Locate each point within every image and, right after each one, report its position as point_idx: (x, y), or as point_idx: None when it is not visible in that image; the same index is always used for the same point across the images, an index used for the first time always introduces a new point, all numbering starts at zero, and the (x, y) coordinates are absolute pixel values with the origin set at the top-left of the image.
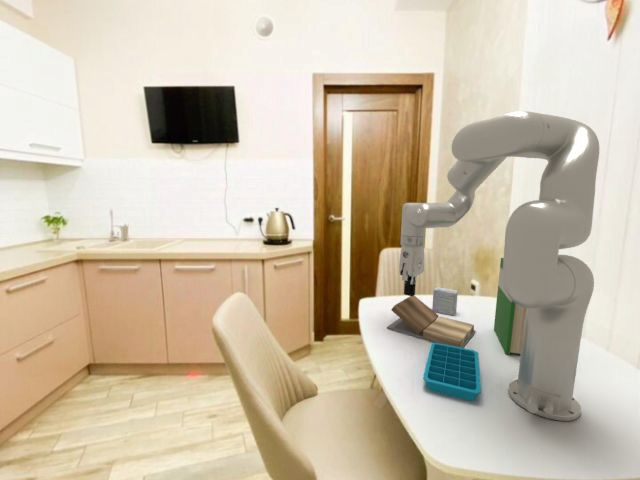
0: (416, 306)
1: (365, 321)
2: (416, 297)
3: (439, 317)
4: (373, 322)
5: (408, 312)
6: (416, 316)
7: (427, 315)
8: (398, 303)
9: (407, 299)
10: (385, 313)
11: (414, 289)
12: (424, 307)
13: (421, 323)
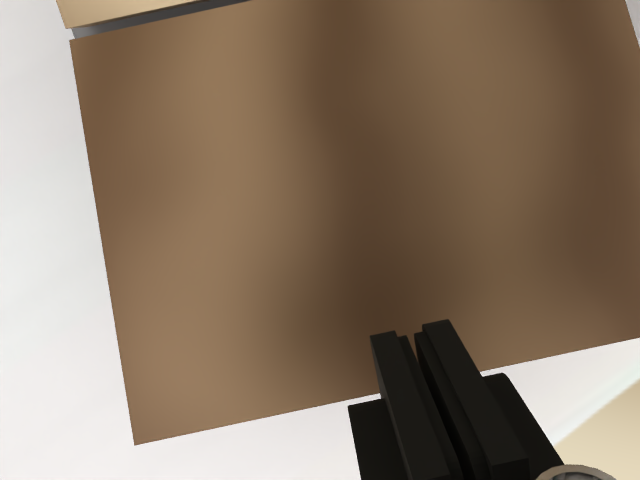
0: (315, 238)
1: (572, 422)
2: (131, 381)
3: (105, 10)
4: (546, 382)
5: (570, 177)
6: (490, 101)
7: (274, 81)
8: (607, 339)
9: (355, 376)
10: (321, 444)
11: (415, 392)
12: (179, 199)
13: (514, 2)
